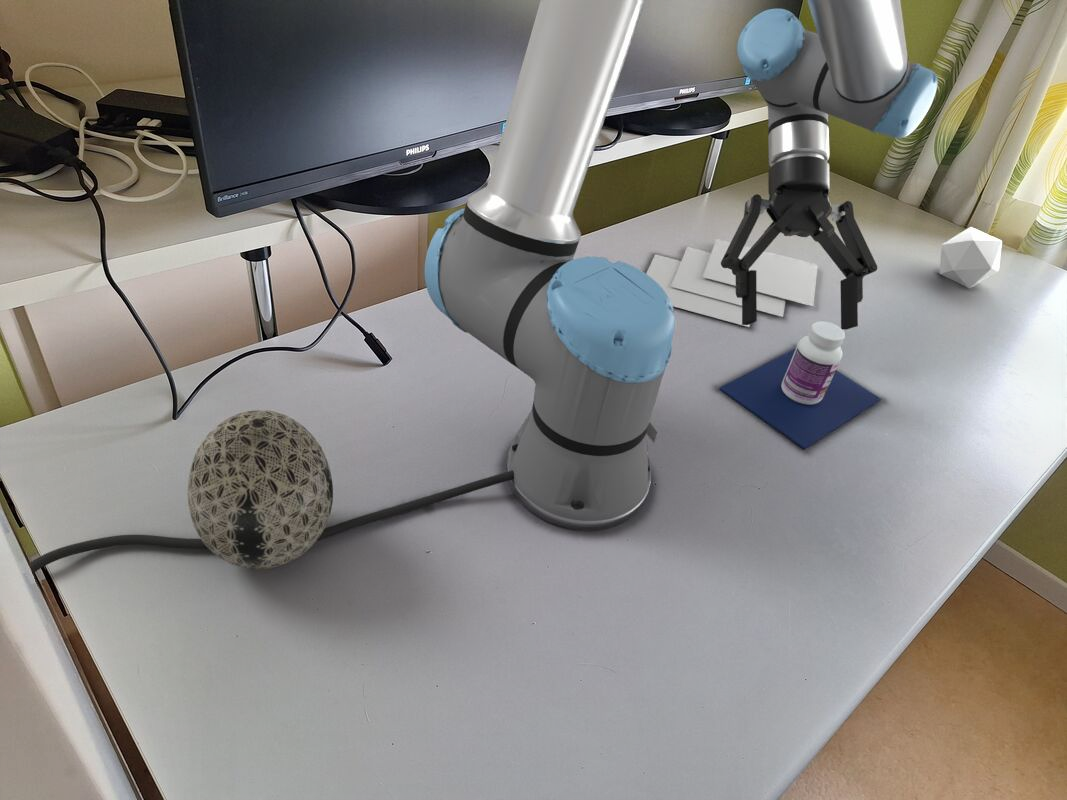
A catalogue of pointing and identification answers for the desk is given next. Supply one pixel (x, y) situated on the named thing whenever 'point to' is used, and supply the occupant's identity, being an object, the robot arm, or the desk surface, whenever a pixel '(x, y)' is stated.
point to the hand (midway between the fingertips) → (799, 325)
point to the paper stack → (732, 282)
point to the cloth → (791, 417)
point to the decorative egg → (260, 490)
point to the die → (970, 257)
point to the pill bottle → (814, 363)
